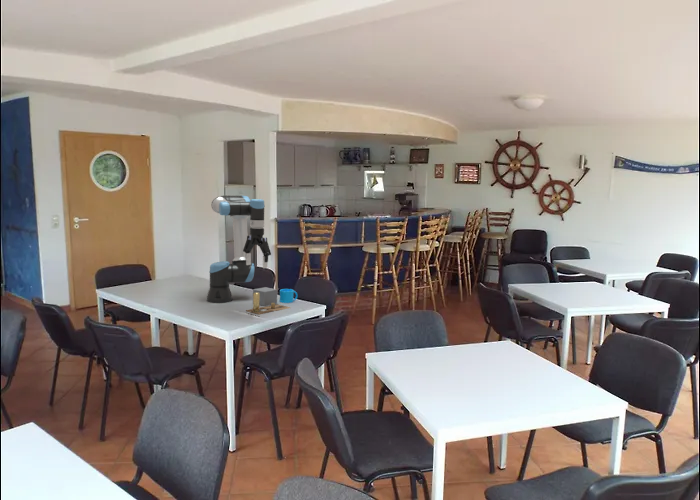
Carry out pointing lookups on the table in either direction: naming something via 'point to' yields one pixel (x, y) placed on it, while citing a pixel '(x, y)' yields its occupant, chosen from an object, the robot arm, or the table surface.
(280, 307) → the board
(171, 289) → the table surface
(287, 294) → the mug
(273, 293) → the block
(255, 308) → the peg
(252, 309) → the build board
